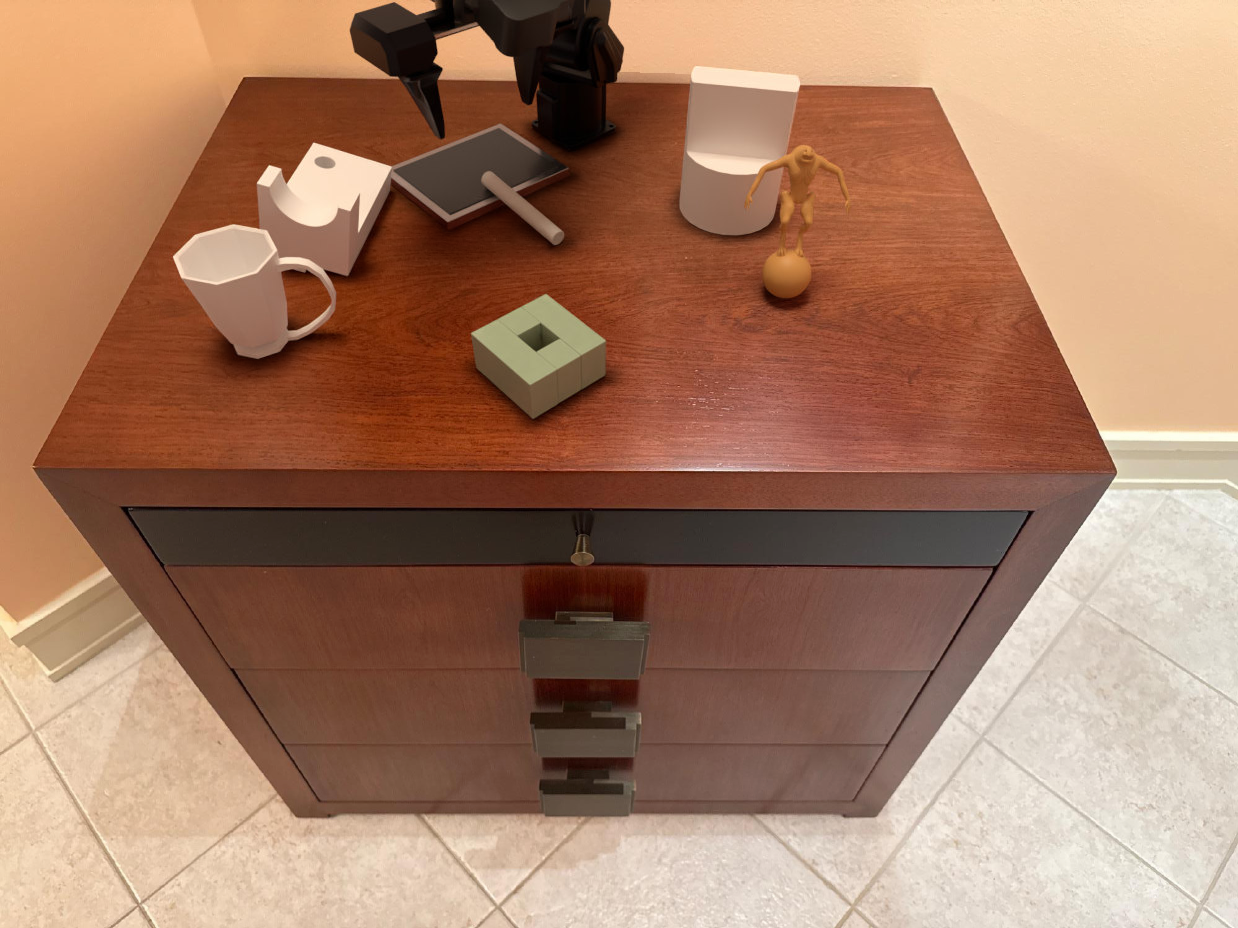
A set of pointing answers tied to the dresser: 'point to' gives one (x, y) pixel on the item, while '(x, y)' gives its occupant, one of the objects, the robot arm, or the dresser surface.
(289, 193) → the bracket
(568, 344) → the pen stand
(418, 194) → the tablet
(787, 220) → the figurine
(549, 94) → the robot arm
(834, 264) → the dresser surface
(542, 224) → the stylus
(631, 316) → the dresser surface
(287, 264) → the cup
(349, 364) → the dresser surface
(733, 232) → the cylinder with rectangular tab
